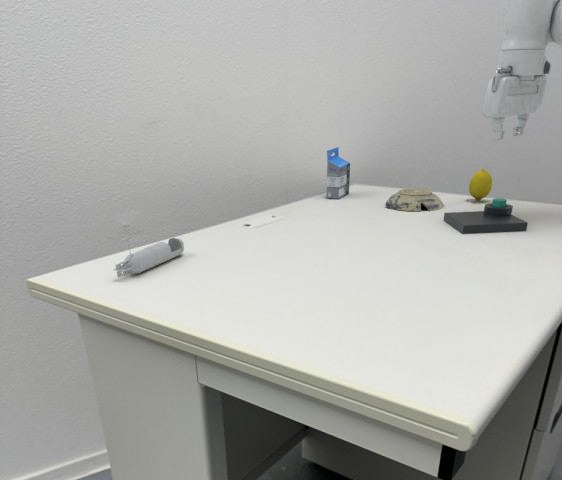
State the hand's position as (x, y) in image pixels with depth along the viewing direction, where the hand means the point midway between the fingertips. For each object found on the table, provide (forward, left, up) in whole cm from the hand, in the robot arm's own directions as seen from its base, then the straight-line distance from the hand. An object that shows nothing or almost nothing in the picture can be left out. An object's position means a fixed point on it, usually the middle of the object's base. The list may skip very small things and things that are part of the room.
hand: (507, 137), depth 121 cm
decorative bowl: (+15, -14, -17) cm, 27 cm away
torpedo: (+77, +27, -17) cm, 84 cm away
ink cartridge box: (+32, -30, -17) cm, 48 cm away
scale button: (+2, +5, -14) cm, 15 cm away
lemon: (-3, -16, -17) cm, 24 cm away
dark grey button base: (+6, +9, -17) cm, 20 cm away
